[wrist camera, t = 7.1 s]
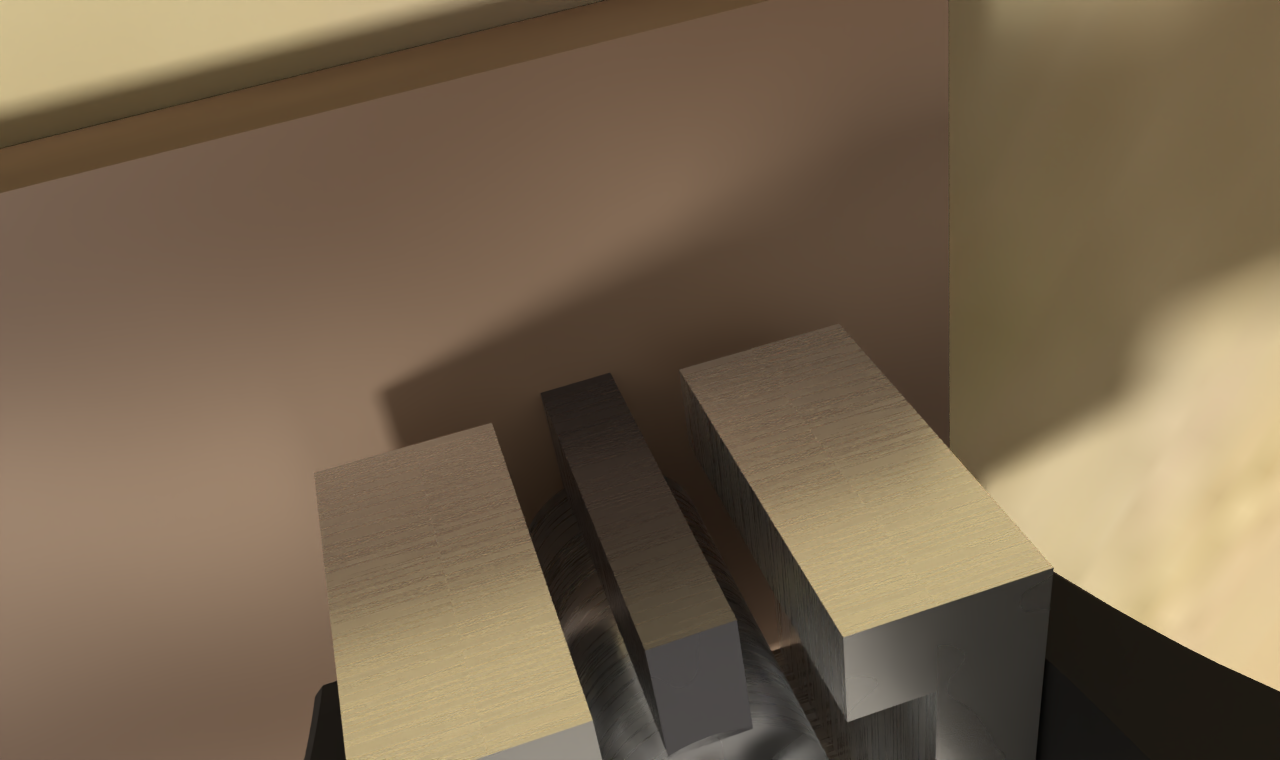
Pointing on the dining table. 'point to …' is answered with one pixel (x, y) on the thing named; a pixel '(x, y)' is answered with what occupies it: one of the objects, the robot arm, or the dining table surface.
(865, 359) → the grey slotted block
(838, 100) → the base board
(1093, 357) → the dining table surface
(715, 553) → the tabbed grey cylinder
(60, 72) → the dining table surface
